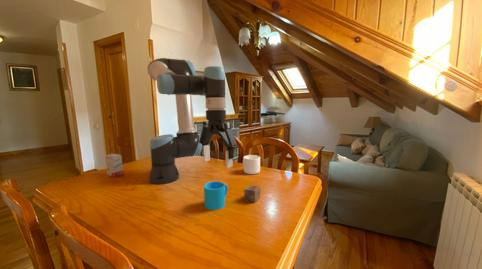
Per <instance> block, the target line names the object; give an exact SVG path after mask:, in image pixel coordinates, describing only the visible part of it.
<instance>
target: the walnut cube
mask: <svg viewBox="0 0 482 269" xmlns="http://www.w3.org/2000/svg"><path fill="white" fill-rule="evenodd" d="M243 192H244V193H243V194H244V196H243V197H244V200H243V201H245V202H250V203H255V204H256V203H257V202H258V200H260V198H261V186H258V185H253V184H249V185H247V186H246V187H245V188H244V189H243Z"/></svg>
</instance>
